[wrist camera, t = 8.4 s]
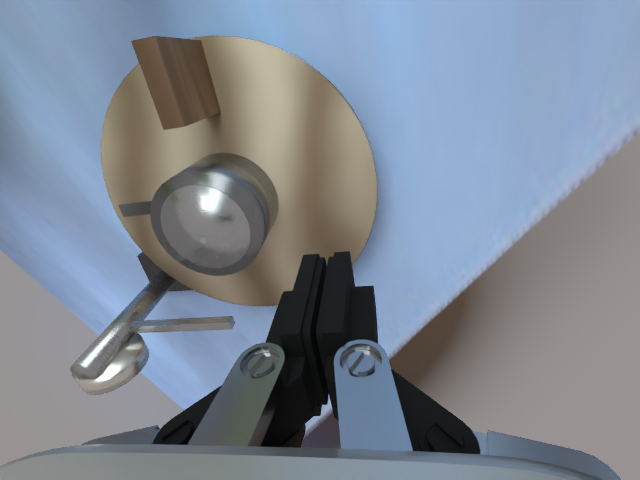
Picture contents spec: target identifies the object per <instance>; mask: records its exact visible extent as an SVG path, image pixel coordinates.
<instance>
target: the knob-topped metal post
mask: <svg viewBox="0 0 640 480" xmlns="http://www.w3.org/2000/svg"><path fill="white" fill-rule="evenodd" d="M138 258H139V261H140V263H141V265H142V267H143V269H144V271H145V273H146V275H147V277H148V279H149V281H150V283H149V284H148V285H147V286H146V287H145V288H144V289H143V290H142V291H141V292H140V293H139V294H138V295H137V296H136V297H135V299H134V300H133V301H132V302H131V303H130V304H129V305H128V306H127V307H126V308H125V309H124V310H123V311H122V312H121V313H120V315H119V316H118V317H117V318H116V319H115V320H114V321H113V322H112V323H111V324H110V325H109V326H108V327H107V328H106V329H105V331H104V332H103V333H102V334H101V335H100V336H99V337H98V338H97V339H96V340H95V341H94V342H93V343H92V344H91V346H90V347H89V348H88V349H87V350H86V351H85V352H84V353H83V354H82V355H81V356H80V357H79V358H78V359H77V360H76V361H75V363H74V364H73V365H72V366H71V368H70V369H71V372H72V376H73V378H74V379H75V380H76V382H77V383H78V385H79V386H80V387H81V389H82V390H83V391H84V392H85V393H87V394H90V395H98V394H104V393H107V392H110V391H113V390H115V389H117V388H119V387H121V386H122V385H124V384H126V383H127V382H129V381H130V380H131V379H133V378H134V377H135V376H136V375H137V374H138V373H139V372H140V371H141V370H142V369H143V367H144V366H145V364H146V363H147V361H148V358H149V350H148V348H147V346H146V344H145V342H144V340H143V339H142V337H141V335H139V334H138V333H149V332H173V331H197V330H221V329H232V328H233V326H234V324H235V321H234V319H233V316H228V317H207V318H187V319H166V320H146V321H144V319H145V318H146V317H147V316H148V314H149V313H150V312H151V311H152V310H153V308H154V307H155V306H156V305H157V304H158V302H159V301H160V300H161V299H162V298H163V296H164V295H165V294H166V293H167V291H182V290H193V289H191V288H189V287H187V286H186V285H184V284H182V283H180V282H179V281H177V280H176V279H174V278H173V277H171V276H170V275H168V274H167V273H166V272H165V271H163V270H162V269H161V268H160V267H158V266H157V265H156V264H155V263H154V262H153V261H152V260H151V259H150V258H149V257H148V256H147V255H146V254H145V253H144V252H142V253H141V254H140V255H139V256H138Z"/></svg>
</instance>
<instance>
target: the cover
mask: <svg viewBox="0 0 640 480" xmlns="http://www.w3.org/2000/svg"><path fill="white" fill-rule="evenodd" d="M277 214H278V197H277V193H276V190H275V187H274V185H273V183H272V181H271V180H270V178H269V176H268V175H267V174H266V173H265V172H264V171H263V170H262V169H261V168H260V167H259V166H258V165H257V164H255V163H254V162H253V161H251V160H249V159H247V158H245V157H243V156H240V155H237V154H233V153H214V154H210V155H207V156H205V157H203V158H201V159H200V160H198V161H196V162H195V163H193V164H192V165H190V166H189V167H187V168H186V169H184V170H182V171H181V172H179V173H178V174H176V175H175V176H173V177H171V178H170V179H168V180H167V181H165V182H164V183H163V184H162V185H161V186H160V187H159V188H158V189H157V191H156V193H155V194H154V196H153V199H152V202H151V207H150V219H151V224H152V228H153V231H154V233H155V236H156V237H157V239H158V241H159V243H160V244H161V246H162V247H163V248H164V249H165V251H166V252H167V253H168V254H169V255H170V256H171V257H172V258H174V259H175V260H176V261H177V262H179V263H180V264H182V265H183V266H185V267H187V268H189V269H191V270H193V271H196V272H198V273H202V274H206V275H212V276H225V275H231V274H234V273H237V272H239V271H242V270H243V269H245V268H246V267H248V266H249V265H250V264H251V263H252V262H253V261H254V260H255V258H256V257H257V255H258V253H259V251H260V249H261V247H262V246H263V244H264V242H265V240H266V238H267V236H268V234H269V232H270V230H271V228H272V227H273V225H274V223H275V220H276V218H277Z"/></svg>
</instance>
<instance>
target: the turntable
mask: <svg viewBox="0 0 640 480" xmlns="http://www.w3.org/2000/svg"><path fill="white" fill-rule="evenodd" d="M131 42H132V44H133V47H134V50H135V53H136V55H137V58H138V61H139V64H137V65H136V66H135V68H134V69H133V70H132V71H131V72H130V73H129V74H128V75H127V76H126V77H125V78H124V80H123V81H122V83H121V84H120V86H119V87H118V89H117V90H116V92H115V94H114V96H113V98H112V100H111V103H110V105H109V107H108V109H107V113H106V117H105V120H104V124H103V130H102V139H101V162H102V169H103V175H104V180H105V184H106V187H107V191H108V194H109V197H110V199H111V202H112V204H113V207H114V209H115V211H116V213H117V215H118V217H119V219H120V221H121V222H122V224H123V226H124V228H125V229H126V230H127V232H128V233H129V235H130V236H131V238H132V239H133V241H134V242H135V243H136V244H137V245H138V246H139V248H140V249H141V250H142V251H143V252H144V253H145V254H146V255H147V256H148V257H149V258H150V259H151V260H152V261H153V262H154V263H155V264H156V265H157V266H158V267H160V268H161V269H162V270H163V271H165V272H166V273H167V274H168V275H170V276H171V277H173V278H174V279H176V280H177V281H179V282H180V283H182V284H184V285H186V286H187V287H189V288H191V289H193V290H195V291H197V292H199V293H202V294H204V295H207V296H209V297H212V298H215V299H218V300H221V301H225V302H230V303H234V304H239V305H249V306H273V305H278V304H279V301H280V298H281V295H282V293H283V292H284V291H293V287H294V284H295V281H296V277H297V274H298V271H299V267H300V264H301V261H302V257H303V255H307V254H319V255H320V257H325V259H326V264H327V263H328V258H329V257H332V256H334V252H344V251H350V255H351V262H352V265H353V264H354V262H355V261H356V260H357V258H358V257H359V255H360V253H361V252H362V250H363V249H364V247H365V244H366V242H367V240H368V238H369V235H370V233H371V229H372V226H373V222H374V219H375V213H376V205H377V178H376V171H375V164H374V158H373V154H372V151H371V148H370V144H369V141H368V138H367V136H366V134H365V132H364V129H363V127H362V125H361V123H360V121H359V119H358V117H357V116H356V114H355V112H354V111H353V109H352V108H351V106H350V104H349V103H348V102H347V100H346V99H345V98H344V97H343V96H342V94H341V93H340V92H339V91H338V89H337V88H336V87H335V86H334V85H333V84H332V83H331V82H330V81H329V80H327V79H326V78H325V77H324V76H323V75H322V74H321V73H320V72H319V71H317V70H316V69H315V68H313V67H312V66H310V65H309V64H308V63H306V62H305V61H303V60H302V59H300V58H298V57H296V56H294V55H293V54H291V53H289V52H287V51H285V50H283V49H281V48H278V47H275V46H272V45H269V44H267V43H264V42H261V41H256V40H250V39H245V38H240V37H232V36H205V37H196V38H190V39H181V38H170V37H159V36H153V37H148V38H143V39H139V40H134V41H131ZM214 153H233V154H237V155H240V156H243V157H245V158H247V159H249V160H251V161H253V162H254V163H255V164H257V165H258V166H259V167H260V168H261V169H262V170H263V171H264V172H265V173H266V174H267V175H268V176H269V178H270V180H271V181H272V183H273V185H274V187H275V190H276V193H277V197H278V214H277V218H276V220H275V223H274V225H273V227H272V228H271V230H270V232H269V234H268V236H267V238H266V240H265V242H264V244H263V246H262V247H261V249H260V251H259V253H258V255H257V257H256V258H255V260H254V261H253V262H252V263H251V264H250V265H249V266H248V267H246V268H245V269H243V270H242V271H239V272H237V273H234V274H231V275H225V276H212V275H206V274H202V273H198V272H196V271H193V270H191V269H189V268H187V267H185V266H183V265H182V264H180V263H179V262H177V261H176V260H175V259H174V258H172V257H171V256H170V255H169V254H168V253H167V252H166V251H165V249H164V248H163V247H162V246H161V244H160V243H159V241H158V239H157V237H156V236H155V233H154V231H153V228H152V224H151V219H150V207H151V202H152V199H153V196H154V194H155V193H156V191H157V189H158V188H159V187H160V186H161V185H162V184H163V183H164V182H165V181H167V180H168V179H170V178H171V177H173V176H175V175H176V174H178V173H179V172H181V171H182V170H184V169H186V168H187V167H189V166H190V165H192V164H193V163H195V162H196V161H198V160H200V159H201V158H203V157H205V156H207V155H210V154H214Z"/></svg>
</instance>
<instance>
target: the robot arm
mask: <svg viewBox="0 0 640 480" xmlns="http://www.w3.org/2000/svg"><path fill="white" fill-rule="evenodd" d="M328 395H329V396H330V400H331V404H332V409H333V413H334V417H335V418H336V419H337V420H338V421H339V428H340V440H341V449H328V448H301V445H302V442H303V438H304V435H305V429H306V426H305V423H306V422H307V421H309V420H310V419H311V418H312V417H313V416H320V415H321V407H322V405H327V403H328ZM0 480H621V479H620V477H619V476H618V475H617V474H616V473H615V472H614V471H613V470H612V469H611V468H610V467H609V466H608V465H607V464H605V463H603V462H602V461H601V460H599V459H598V458H596V457H595V456H592V455H590V454H587V453H584V452H582V451H578V450H574V449H569V448H565V447H561V446H556V445H552V444H547V443H543V442H538V441H534V440H530V439H525V438H521V437H516V436H512V435H507V434H503V433H498V432H494V431H490V430H488V432H487V434H483V433H479V432H474V431H472V430H471V429H470V428H469V427H468V426H467V425H466V424H465V423H464V422H463V421H461V420H460V419H458V418H457V417H456V416H454V415H453V414H452V413H450V412H449V411H448V410H446V409H445V408H443V407H442V406H441V405H439V404H438V403H437V402H436V401H434V400H433V399H431V398H430V397H429V396H427V395H426V394H425V393H423V392H422V391H421V390H419V389H418V388H416V387H415V386H414V385H412V384H411V383H409V382H408V381H407V380H406V379H404V378H403V377H402V376H400V375H399V374H398V373H396V372H395V371H394V370H392V369H391V368H390V364H389V360H388V356H387V354H386V352H385V350H384V349H383V348H382V347H381V346H380V345H379V344H378V333H377V316H376V305H375V295H374V287H373V286H361V287H355V284H354V276H353V269H352V262H351V255H350V251H344V252H334V256H332V257H329V258H328V263H327V264H326V259H325V257H320V255H319V254H307V255H303V257H302V261H301V264H300V267H299V271H298V274H297V277H296V281H295V284H294V287H293V291H284V292H283V293H282V295H281V298H280V301H279V304H278V307H277V310H276V313H275V316H274V319H273V322H272V325H271V328H270V331H269V334H268V337H267V340H266V343H260V344H256V345H254V346H252V347H250V348H248V349H247V350H245V351H244V352H243V353H242V354H241V355H240V357H239V358H238V359H237V361H236V362H235V364H234V366H233V368H232V369H231V371H230V373H229V374H228V376H227V378H226V380H225V381H224V383H223V385H221V386H220V387H218V388H217V389H216V390H214V391H213V392H211V393H210V394H208V395H207V396H205V397H204V398H202V399H201V400H199V401H198V402H196V403H195V404H193V405H192V406H190V407H189V408H187V409H186V410H184V411H183V412H181V413H180V414H178V415H177V416H175V417H174V418H173V419H171V420H170V421H169V422H167V423H166V424H165V425H164V426H163V427H162V428H161V429H159V427H158V426H157V425H156V426H152V427H147V428H143V429H138V430H134V431H129V432H124V433H121V434H116V435H111V436H106V437H102V438H98V439H94V440H91V441H88V442H85V443H84V444H82V445H76V446H69V447H63V448H57V449H51V450H47V451H43V452H39V453H35V454H31V455H28V456H25V457H22V458H19V459H17V460H14V461H11V462H8V463H6V464H4V465H2V466H0Z"/></svg>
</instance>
